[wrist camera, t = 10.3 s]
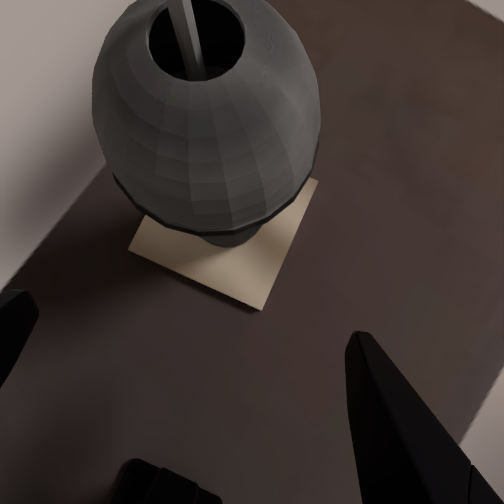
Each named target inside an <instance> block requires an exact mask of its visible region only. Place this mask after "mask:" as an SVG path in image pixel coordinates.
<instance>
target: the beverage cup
mask: <svg viewBox="0 0 504 504" xmlns="http://www.w3.org/2000/svg"><path fill="white" fill-rule="evenodd" d="M92 117H93V125H94V128H95V131H96V133H97V136H98V139H99V142H100V145H101V148H102V151H103V154H104V156H105V159H106V161H107V164H108V166H109V168H110V169H111V171H112V173H113V176H114V179H115V182H116V183H117V185H118V186H119V187H120V188H121V190H122V191H123V192H124V194H125V195H126V196H127V197H128V199H129V200H130V201H131V202H132V204H133V205H134V206H135V207H136V209H138V210H139V211H141V212H142V213H144V214H145V215H147V216H148V217H150V218H151V219H153V220H155V221H156V222H158V223H159V224H161V225H162V226H164V227H165V228H169V229H172V230H176V231H180V232H184V233H188V234H191V235H195V236H199V237H200V238H202V239H203V240H205V241H206V242H208V243H209V244H211V245H214V246H218V247H222V248H235V247H237V246H240V245H243V244H245V243H246V242H247V241H248V240H250V239H251V238H252V237H253V236H255V235H256V233H257V232H258V231H259V229H260V228H261V227H262V225H263V224H265V223H268V222H269V221H270V220H271V219H273V218H274V217H275V216H276V215H278V214H279V213H280V212H281V211H283V210H284V209H285V208H287V207H288V206H289V205H290V204H292V203H293V202H294V201H295V199H296V197H297V196H298V194H299V193H300V191H301V190H302V188H303V187H304V185H305V184H306V182H307V180H308V179H309V177H310V176H311V174H312V170H313V166H314V162H315V158H316V154H317V150H318V146H319V130H320V120H321V115H320V105H319V94H318V84H317V79H316V75H315V72H314V69H313V67H312V65H311V63H310V60H309V58H308V56H307V54H306V52H305V49H304V47H303V45H302V43H301V41H300V39H299V37H298V35H297V33H296V32H295V31H294V30H293V29H292V28H291V27H290V26H289V24H288V23H287V22H286V21H285V20H284V19H283V18H282V17H281V16H280V15H279V13H278V12H277V11H276V10H275V9H274V8H273V7H272V6H271V5H270V4H269V3H267V2H266V1H264V0H137V1H136V2H134V3H133V4H131V5H129V6H128V8H127V9H126V10H125V11H124V13H123V14H122V15H121V16H120V17H119V19H118V20H117V21H116V22H115V24H114V25H113V26H112V27H111V29H110V30H109V32H108V34H107V36H106V37H105V40H104V43H103V46H102V48H101V51H100V54H99V56H98V59H97V61H96V64H95V67H94V72H93V79H92Z"/></svg>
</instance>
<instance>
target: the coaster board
mask: <svg viewBox="0 0 504 504" xmlns="http://www.w3.org/2000/svg"><path fill="white" fill-rule="evenodd" d="M317 183H318V181H317V180H315V179H312V178H310V177H309V179H308V180H307V182H306V184H305V185H304V187H303V188H302V190H301V191H300V193H299V194H298V196H297V197H296V199H295V201H294V202H293V203H292V204H290V205H289V206H288V207H287V208H285V209H284V210H283V211H281V212H280V213H279V214H278V215H276V216H275V217H274V218H273V219H271V220H270V221H269V222H268V223H265V224H263V225H262V227H261V228H260V229H259V231H258V232H257V233H256V235H255V236H253V237H252V238H251V239H250V240H248V241H247V242H246V243H245V244H243V245H240V246H237V247H235V248H222V247H218V246H214V245H211V244H209V243H208V242H206V241H205V240H203V239H202V238H200V237H199V236H195V235H191V234H188V233H184V232H180V231H176V230H172V229H169V228H165V227H164V226H162V225H161V224H159V223H158V222H156V221H155V220H153V219H151V218H150V217H148V216H147V215H145V217H144V219H143V221H142V223H141V225H140V226H139V228H138V230H137V232H136V234H135V236H134V238H133V240H132V242H131V244H130V246H129V248H128V250H129V251H132V252H134V253H136V254H138V255H140V256H142V257H145V258H147V259H149V260H151V261H153V262H156V263H158V264H160V265H162V266H164V267H167V268H169V269H171V270H173V271H175V272H178V273H180V274H182V275H184V276H186V277H189V278H191V279H193V280H195V281H197V282H199V283H202V284H204V285H206V286H208V287H210V288H213V289H215V290H217V291H219V292H221V293H224V294H226V295H228V296H230V297H232V298H235V299H237V300H239V301H241V302H243V303H246V304H248V305H250V306H252V307H254V308H256V309H259V310H261V311H262V309H263V306H264V304H265V302H266V299H267V297H268V295H269V293H270V290H271V288H272V286H273V283H274V281H275V279H276V277H277V274H278V272H279V270H280V267H281V265H282V263H283V261H284V258H285V256H286V254H287V251H288V249H289V247H290V245H291V242H292V240H293V238H294V236H295V233H296V231H297V229H298V226H299V224H300V222H301V220H302V217H303V215H304V213H305V210H306V208H307V206H308V204H309V201H310V199H311V197H312V194H313V192H314V190H315V188H316V185H317Z"/></svg>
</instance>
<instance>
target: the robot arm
mask: <svg viewBox="0 0 504 504" xmlns="http://www.w3.org/2000/svg"><path fill="white" fill-rule="evenodd" d="M38 317H39V310H38V307H37V305H36V303H35V301H34V299H33V297H32V295H31V293H30V292H29V291H26V290H19V289H12V290H9V291H7V292H5V293H3V294H1V295H0V388H1V386H2V385H3V383H4V382H5V380H6V379H7V377H8V375H9V374H10V372H11V370H12V369H13V367H14V365H15V363H16V361H17V359H18V357H19V355H20V353H21V351H22V349H23V347H24V345H25V343H26V341H27V339H28V337H29V336H30V334H31V332H32V330H33V328H34V326H35V324H36V322H37V320H38ZM345 373H346V392H347V409H348V417H349V424H350V430H351V436H352V442H353V449H354V455H355V461H356V467H357V473H358V479H359V485H360V491H361V497H362V503H363V504H504V502H503V501H502V500H501V499H500V498H499V496H498V495H497V494H496V493H495V491H494V490H493V489H492V488H491V486H490V485H489V484H488V483H487V481H486V480H485V479H484V478H483V476H482V475H481V474H480V472H479V471H478V470H477V469H476V467H475V466H474V465H471V461H470V460H469V459H468V457H467V456H466V455H465V453H464V452H463V451H462V450H461V448H460V447H459V446H458V445H457V443H456V442H455V441H454V439H453V438H452V437H451V436H450V434H449V433H448V432H447V431H446V429H445V428H444V427H443V425H442V424H441V423H440V422H439V420H438V419H437V418H436V416H435V415H434V414H433V413H432V411H431V410H430V409H429V408H428V406H427V405H426V404H425V402H424V401H423V400H422V399H421V397H420V396H419V395H418V394H417V392H416V391H415V390H414V388H413V387H412V386H411V385H410V383H409V382H408V381H407V380H406V378H405V377H404V376H403V374H402V373H401V372H400V371H399V369H398V368H397V367H396V366H395V364H394V363H393V362H392V360H391V359H390V358H389V357H388V355H387V354H386V353H385V352H384V350H383V349H382V348H381V346H380V345H379V344H378V343H377V341H376V340H375V339H374V337H373V336H372V335H371V334H370V333H368V332H363V331H354V332H353V333H352V335H351V337H350V340H349V342H348V344H347V347H346V350H345ZM133 466H137V467H138V469H139V471H134V470H133ZM110 504H223V503H222V500H221V498H220V497H218V496H216V495H214V494H212V493H210V492H208V491H206V490H204V489H202V488H200V487H199V486H198V484H197V483H195V482H193V481H191V480H189V479H187V478H185V477H182V476H180V475H178V474H176V473H174V472H172V471H170V470H168V469H166V468H161V469H160V468H158V467H156V466H153V465H151V464H149V463H147V462H145V461H143V460H141V459H134V460H132V461H131V462H130V464H129V465H128V467H127V469H126V471H125V473H124V475H123V477H122V479H121V482H120V484H119V486H118V488H117V490H116V492H115V494H114V497H113V499H112V501H111V503H110Z"/></svg>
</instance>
